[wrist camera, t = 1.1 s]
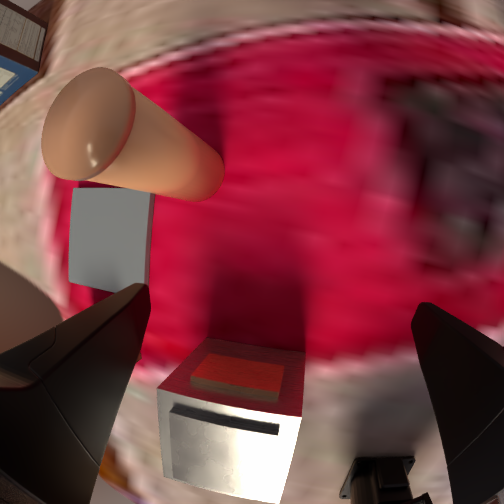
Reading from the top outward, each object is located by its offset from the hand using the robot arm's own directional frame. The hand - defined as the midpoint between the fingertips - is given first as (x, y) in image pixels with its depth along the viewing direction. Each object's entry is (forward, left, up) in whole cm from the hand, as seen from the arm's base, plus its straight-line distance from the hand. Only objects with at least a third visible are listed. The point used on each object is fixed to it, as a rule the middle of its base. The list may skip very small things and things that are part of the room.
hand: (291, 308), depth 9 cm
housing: (-11, +3, -13) cm, 17 cm away
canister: (+6, +9, -13) cm, 17 cm away
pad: (0, +17, -13) cm, 21 cm away
